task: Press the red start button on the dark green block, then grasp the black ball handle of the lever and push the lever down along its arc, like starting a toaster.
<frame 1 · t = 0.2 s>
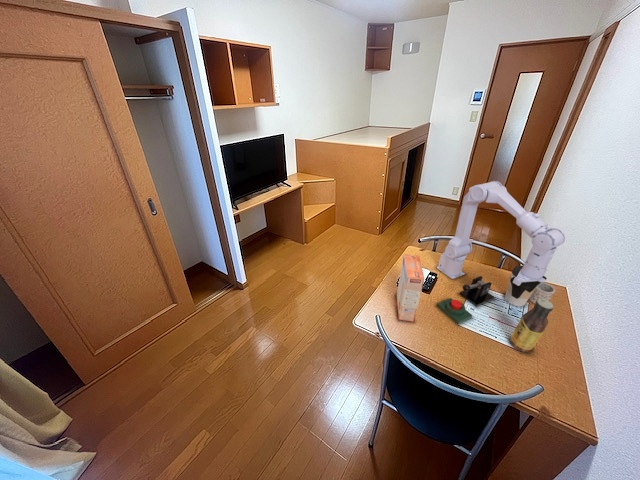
hand: (521, 293, 93), 10 cm above the table, tool pointing down, fingers open, 6 cm apart
sauce bottle: (519, 345, 87), on the table
lever: (473, 286, 101), point 7 cm above the table, hinge at 12.0°
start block: (453, 312, 99), on the table
bracket: (476, 296, 106), on the table
cracker box: (404, 307, 102), on the table
coffee cup: (514, 300, 104), on the table, touching gripper
mug: (532, 297, 105), on the table
button: (456, 304, 97), point 4 cm above the table, slide at 0.1 cm
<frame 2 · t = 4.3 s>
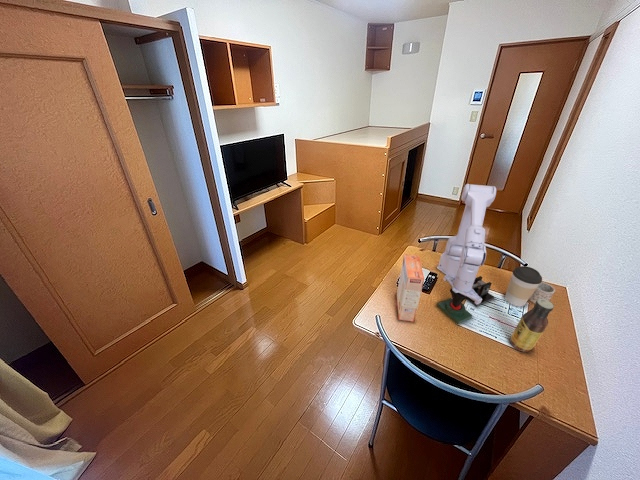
hand: (455, 305, 97), 4 cm above the table, tool pointing down, fingers closed, pressing on button
coffee cup: (514, 300, 104), on the table
button: (455, 306, 98), point 3 cm above the table, slide at -1.0 cm, touching gripper
everything else where it was.
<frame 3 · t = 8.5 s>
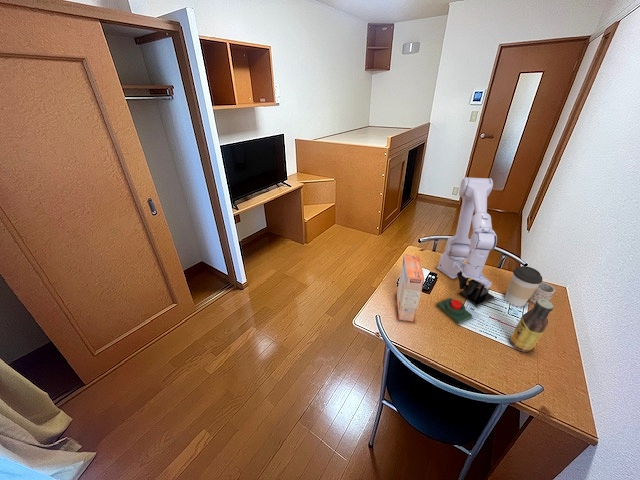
hand: (465, 290, 99), 7 cm above the table, tool pointing down, fingers closed on lever, 2 cm apart
lever: (473, 286, 101), point 7 cm above the table, hinge at 12.0°, touching gripper
button: (456, 304, 97), point 4 cm above the table, slide at 0.1 cm
everything else where it was.
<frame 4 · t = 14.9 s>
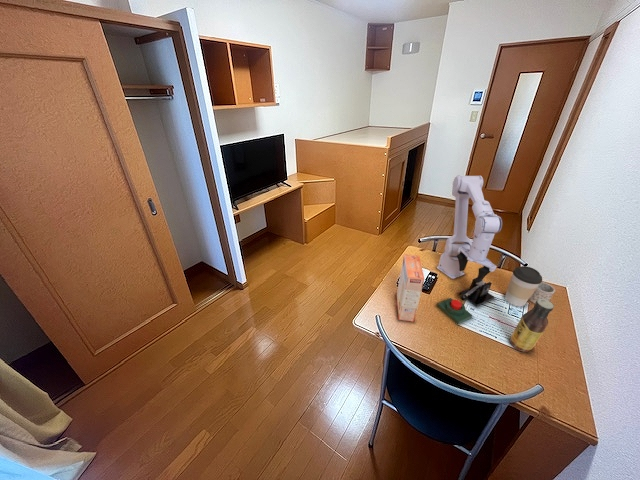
hand: (470, 275, 101), 10 cm above the table, tool pointing down, fingers open, 7 cm apart
lever: (472, 291, 102), point 5 cm above the table, hinge at -22.3°
everything else where it was.
at the end: button pushed in 1.2 cm at the most during the clip, back to where it started at the end; button slide at 0.1 cm; lever at -22° (first picture: +12°) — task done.
